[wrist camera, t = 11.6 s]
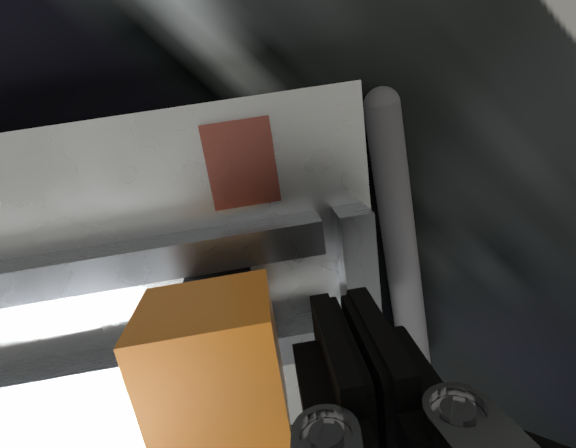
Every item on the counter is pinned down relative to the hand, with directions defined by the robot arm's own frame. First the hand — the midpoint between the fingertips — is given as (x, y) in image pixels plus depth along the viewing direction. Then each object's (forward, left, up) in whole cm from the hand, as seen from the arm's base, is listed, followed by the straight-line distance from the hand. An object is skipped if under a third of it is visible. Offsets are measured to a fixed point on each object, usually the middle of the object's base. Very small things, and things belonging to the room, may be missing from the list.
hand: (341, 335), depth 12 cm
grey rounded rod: (0, -4, -6) cm, 7 cm away
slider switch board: (0, +8, -6) cm, 10 cm away
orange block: (0, +4, -4) cm, 5 cm away
